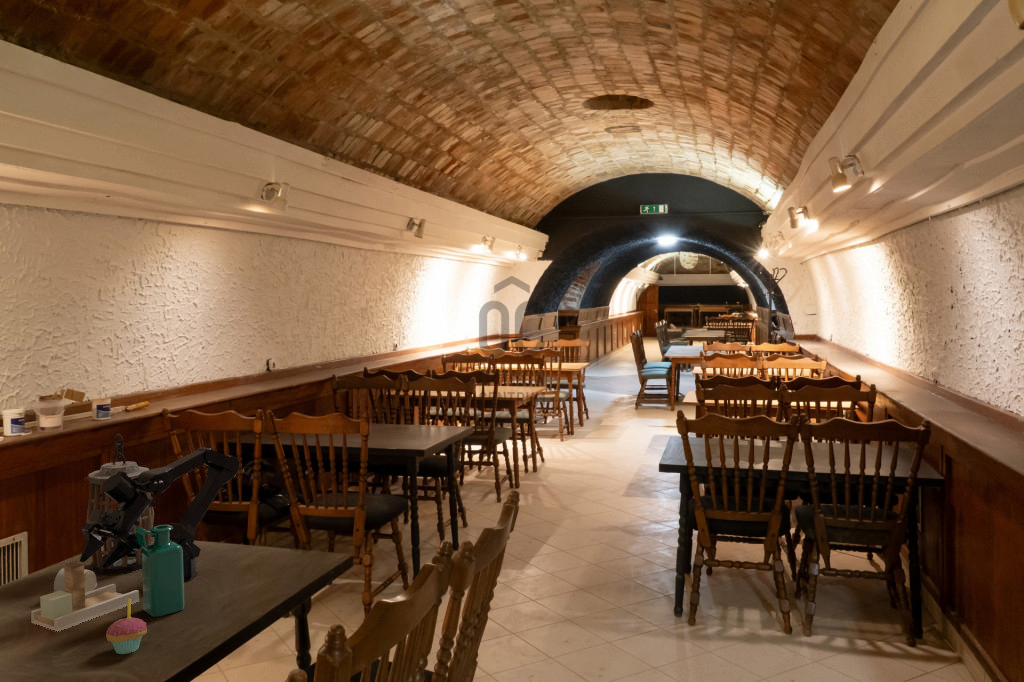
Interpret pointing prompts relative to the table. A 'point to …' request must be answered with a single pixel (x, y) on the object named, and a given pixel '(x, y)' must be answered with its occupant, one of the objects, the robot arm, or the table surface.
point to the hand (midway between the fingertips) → (91, 564)
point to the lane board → (89, 609)
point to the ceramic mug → (88, 578)
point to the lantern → (97, 479)
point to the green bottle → (161, 572)
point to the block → (56, 604)
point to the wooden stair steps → (78, 589)
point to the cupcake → (126, 633)
